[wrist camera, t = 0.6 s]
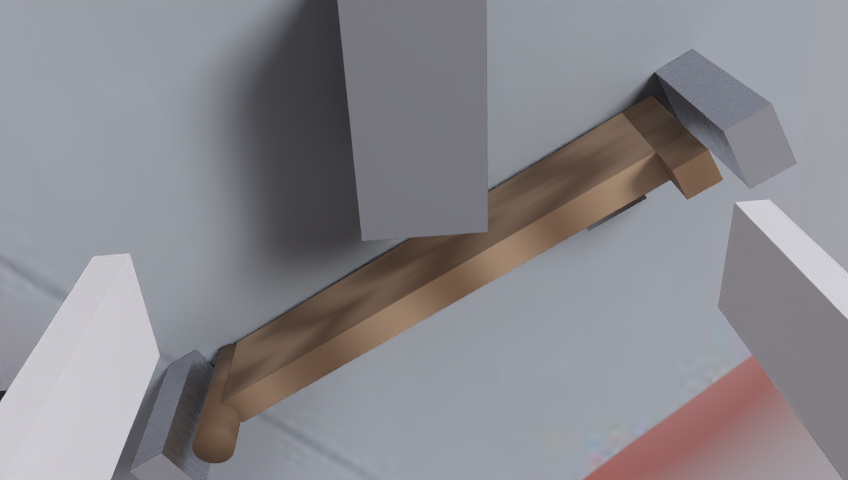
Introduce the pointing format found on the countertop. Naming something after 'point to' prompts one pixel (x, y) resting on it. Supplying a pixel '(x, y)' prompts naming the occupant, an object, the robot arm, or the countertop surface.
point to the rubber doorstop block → (417, 115)
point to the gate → (451, 264)
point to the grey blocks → (694, 107)
